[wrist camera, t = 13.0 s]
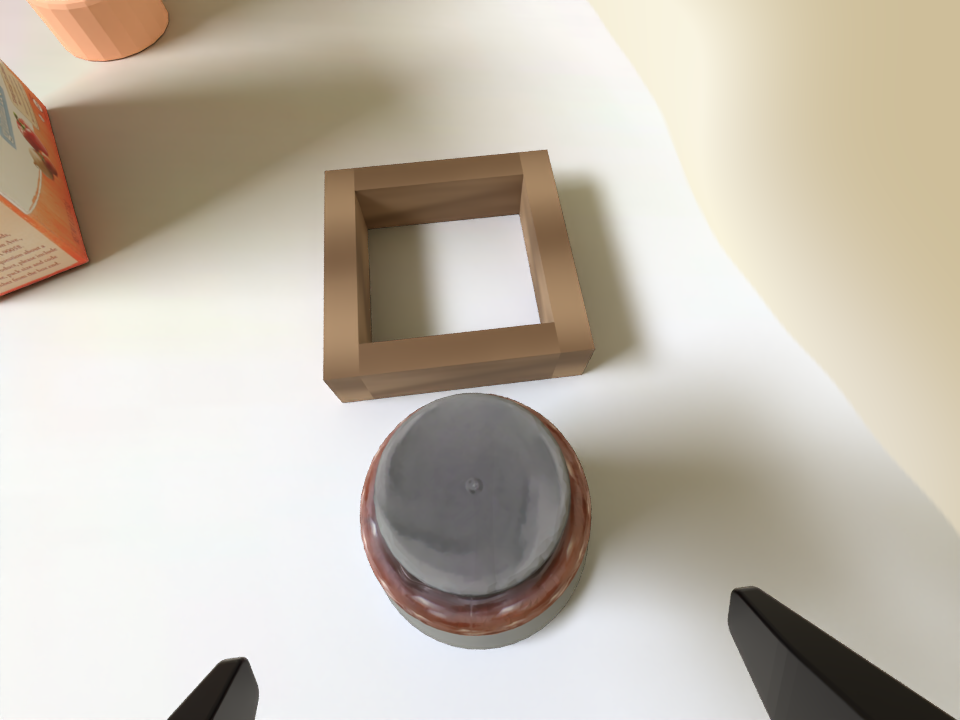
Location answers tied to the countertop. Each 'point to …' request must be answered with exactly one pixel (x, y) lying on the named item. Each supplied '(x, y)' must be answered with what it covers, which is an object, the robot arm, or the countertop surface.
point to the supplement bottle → (475, 514)
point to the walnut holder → (459, 356)
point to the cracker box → (32, 193)
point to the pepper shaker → (103, 25)
